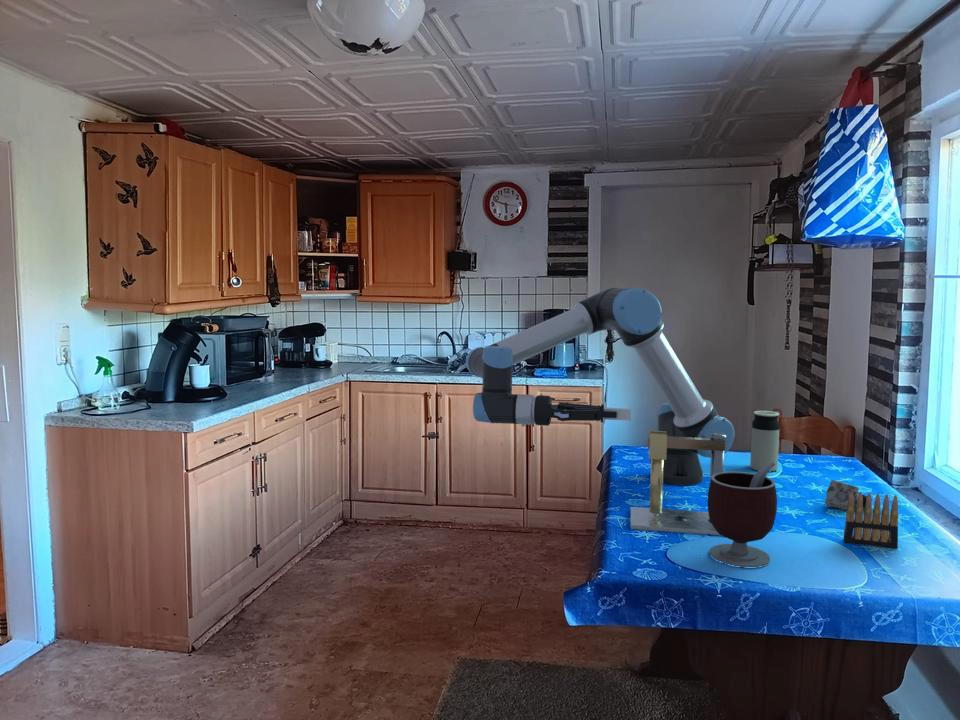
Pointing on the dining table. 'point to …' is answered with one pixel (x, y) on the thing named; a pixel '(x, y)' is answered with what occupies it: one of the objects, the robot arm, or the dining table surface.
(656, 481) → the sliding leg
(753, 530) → the mate gourd
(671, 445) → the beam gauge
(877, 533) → the ammunition clip
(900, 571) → the dining table surface
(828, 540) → the dining table surface
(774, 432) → the travel mug
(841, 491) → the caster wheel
